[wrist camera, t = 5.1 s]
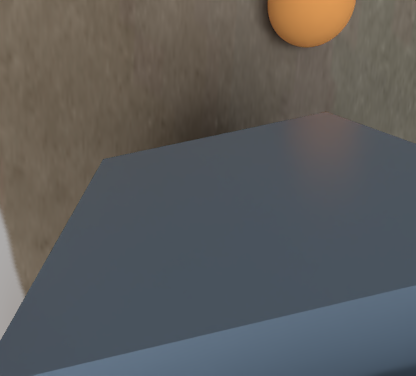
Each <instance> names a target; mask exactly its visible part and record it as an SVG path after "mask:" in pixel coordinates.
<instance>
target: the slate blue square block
mask: <svg viewBox="0 0 416 376" xmlns="http://www.w3.org/2000/svg"><path fill="white" fill-rule="evenodd" d="M0 376H416V144H415V143H412V142H409V141H406V140H404V139H401V138H398V137H395V136H392V135H390V134H387V133H384V132H381V131H379V130H376V129H373V128H370V127H367V126H365V125H362V124H359V123H356V122H354V121H351V120H348V119H345V118H342V117H340V116H337V115H334V114H331V113H329V112H323V113H318V114H313V115H309V116H304V117H299V118H295V119H290V120H285V121H280V122H276V123H271V124H266V125H262V126H257V127H252V128H248V129H243V130H238V131H233V132H229V133H224V134H219V135H215V136H210V137H205V138H200V139H196V140H191V141H186V142H182V143H177V144H172V145H168V146H163V147H158V148H153V149H149V150H144V151H139V152H135V153H130V154H125V155H121V156H116V157H111V158H106V159H103V161H102V162H101V164H100V166H99V168H98V169H97V171H96V173H95V175H94V177H93V178H92V180H91V182H90V184H89V185H88V187H87V189H86V191H85V192H84V194H83V196H82V198H81V199H80V201H79V203H78V205H77V206H76V208H75V210H74V212H73V214H72V215H71V217H70V219H69V221H68V222H67V224H66V226H65V228H64V229H63V231H62V233H61V235H60V236H59V238H58V240H57V242H56V243H55V245H54V247H53V249H52V251H51V252H50V254H49V256H48V258H47V259H46V261H45V263H44V265H43V266H42V268H41V270H40V272H39V273H38V275H37V277H36V279H35V281H34V282H33V284H32V286H31V288H30V289H29V291H28V293H27V295H26V296H25V298H24V300H23V302H22V303H21V305H20V307H19V309H18V311H17V312H16V314H15V316H14V318H13V319H12V321H11V323H10V325H9V326H8V328H7V330H6V332H5V333H4V335H3V337H2V339H1V340H0Z"/></svg>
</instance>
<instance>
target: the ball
mask: <svg viewBox="0 0 416 376" xmlns="http://www.w3.org/2000/svg"><path fill="white" fill-rule="evenodd" d="M355 2H356V0H268V15H269V19H270V22H271V24H272V26H273V28H274V30H275V31H276V33H277V34H278V35H279V36H280V37H281V38H282V39H283V40H285V41H286V42H288V43H290V44H292V45H295V46H299V47H314V46H318V45H321V44H324V43H326V42H328V41H330V40H331V39H333V38H334V37H335V36H337V35H338V34H339V33H340V32H341V31H342V29H343V28H344V27H345V26H346V24H347V23H348V21H349V19H350V18H351V15H352V13H353V10H354V7H355Z"/></svg>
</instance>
